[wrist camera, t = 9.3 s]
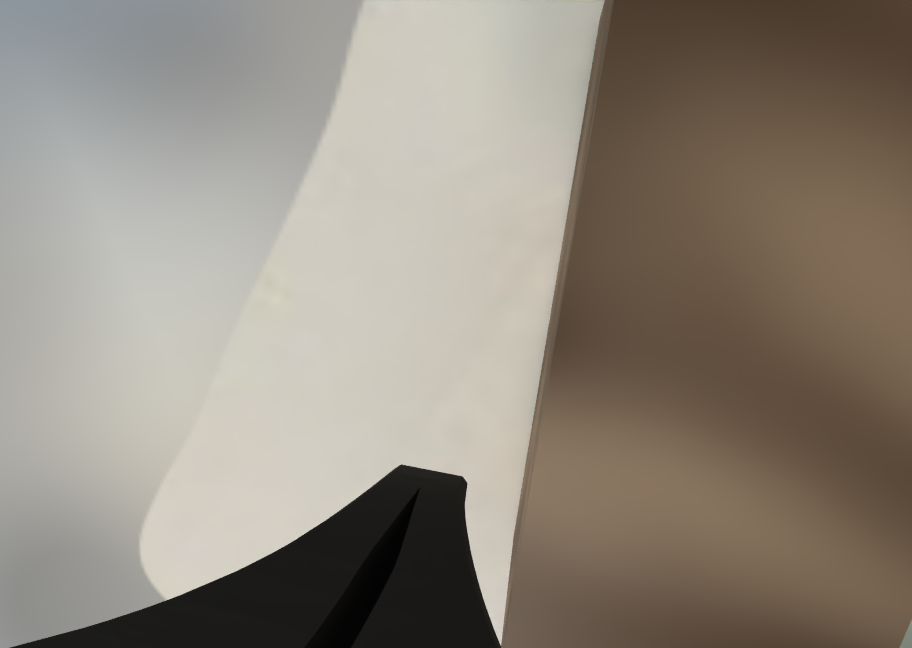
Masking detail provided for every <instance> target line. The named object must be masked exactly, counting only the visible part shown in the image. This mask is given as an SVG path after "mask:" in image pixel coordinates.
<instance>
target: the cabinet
mask: <svg viewBox="0 0 912 648" xmlns="http://www.w3.org/2000/svg"><path fill="white" fill-rule="evenodd" d="M911 620H912V0H605V3H604V6H603V10H602V13H601V17H600V21H599V27H598V33H597V39H596V45H595V51H594V57H593V63H592V69H591V75H590V81H589V87H588V93H587V99H586V105H585V112H584V118H583V124H582V130H581V136H580V142H579V148H578V154H577V160H576V166H575V172H574V178H573V184H572V190H571V196H570V202H569V208H568V214H567V220H566V226H565V232H564V238H563V244H562V250H561V256H560V262H559V268H558V274H557V280H556V286H555V292H554V298H553V304H552V310H551V316H550V322H549V328H548V334H547V340H546V346H545V352H544V358H543V364H542V370H541V376H540V382H539V388H538V394H537V400H536V406H535V412H534V418H533V424H532V430H531V436H530V442H529V448H528V454H527V460H526V466H525V472H524V478H523V484H522V490H521V496H520V502H519V508H518V514H517V520H516V526H515V532H514V539H513V548H512V556H511V565H510V574H509V582H508V591H507V600H506V608H505V617H504V626H503V634H502V643H501V648H900V645H901V643H902V641H903V638H904V636H905V634H906V632H907V629H908V627H909V625H910V622H911Z"/></svg>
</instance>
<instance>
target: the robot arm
mask: <svg viewBox="0 0 912 648" xmlns="http://www.w3.org/2000/svg"><path fill="white" fill-rule="evenodd" d="M466 490H467V482H466V481H465V479H464V478H463V477H462V476H457V475H452V474H447V473H442V472H437V471H431V470H426V469H421V468H416V467H411V466H406V465H400V466H398V467H397V468H395V469H394V470H393V471H391V472H390V473H389V474H387V475H386V476H385V477H384V478H382V479H381V480H380V481H379V482H377V483H376V484H375V485H373V486H372V487H371V488H370V489H368V490H367V491H366V492H364V493H363V494H362V495H360V496H359V497H358V498H356V499H355V500H354V501H352V502H351V503H350V504H348V505H347V506H345V507H344V508H343V509H341V510H340V511H339V512H337V513H336V514H334V515H333V516H332V517H330V518H329V519H327V520H326V521H324V522H323V523H321V524H319V525H318V526H316V527H315V528H313V529H312V530H310V531H309V532H307V533H305V534H304V535H302V536H301V537H299V538H298V539H296V540H295V541H293V542H291V543H290V544H288V545H286V546H284V547H283V548H281V549H279V550H277V551H275V552H274V553H272V554H270V555H268V556H266V557H264V558H262V559H260V560H258V561H256V562H254V563H252V564H250V565H248V566H246V567H244V568H242V569H240V570H238V571H236V572H234V573H231V574H229V575H227V576H224V577H222V578H220V579H217V580H215V581H213V582H210V583H208V584H206V585H203V586H201V587H199V588H196V589H194V590H192V591H189V592H187V593H185V594H182V595H180V596H177V597H175V598H172V599H169V600H167V601H164V602H161V603H158V604H156V605H153V606H150V607H147V608H144V609H142V610H139V611H136V612H133V613H130V614H127V615H123V616H120V617H117V618H115V619H112V620H109V621H105V622H102V623H99V624H95V625H92V626H89V627H86V628H82V629H78V630H74V631H71V632H67V633H63V634H59V635H56V636H52V637H48V638H45V639H41V640H37V641H33V642H30V643H26V644H22V645H18V646H15V647H11V648H501V646H500V643H499V641H498V638H497V636H496V633H495V631H494V628H493V626H492V623H491V620H490V617H489V615H488V612H487V609H486V606H485V603H484V600H483V597H482V593H481V590H480V587H479V583H478V579H477V576H476V572H475V568H474V564H473V560H472V555H471V550H470V545H469V539H468V533H467V527H466V519H465V497H466Z"/></svg>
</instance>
